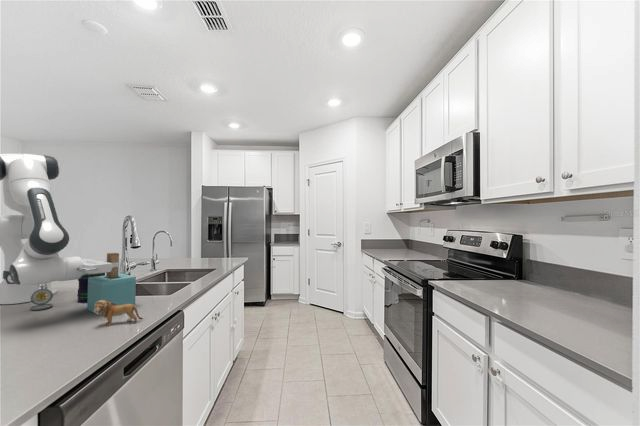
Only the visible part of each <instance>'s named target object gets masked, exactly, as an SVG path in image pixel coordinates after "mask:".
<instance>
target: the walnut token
mask: <svg viewBox="0 0 640 426" xmlns="http://www.w3.org/2000/svg"><path fill="white" fill-rule="evenodd" d="M119 260H120V253H118V252H106V261H107V262H109V263H114V262H118V263H119V264H120V261H119ZM119 267H120V265H119V266H118V267H113V268H112V271H111V272H107V273H105V275H106V277H108V278H117V277H118V274H119V273H120V271H119Z"/></svg>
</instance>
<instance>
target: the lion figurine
mask: <svg viewBox="0 0 640 426" xmlns="http://www.w3.org/2000/svg"><path fill="white" fill-rule="evenodd" d="M94 312H95V314H96V313H97V314H96V315H99V316H101V318H106V319H107V322H106V324H105V326H106V327H110V326H111V325H112V321H113V317H120V316H123V315H125V314H126V315H127V316H128V317H129V318H128V319H127V320H126V322H130V321H132V324H136V323H137V322H138V319H139V320H144V318H143V317H141V316H140V315H139V313H138V312H139V311H138V309H137V307H136V305H135V306H134V305H133V304H125V305H116V304H115V303H113V302H109V301H106V300H99V301H98V302H96V303H95V306H94ZM94 312H93V313H94ZM134 312H135V313H134ZM132 319H133V320H132Z"/></svg>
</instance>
